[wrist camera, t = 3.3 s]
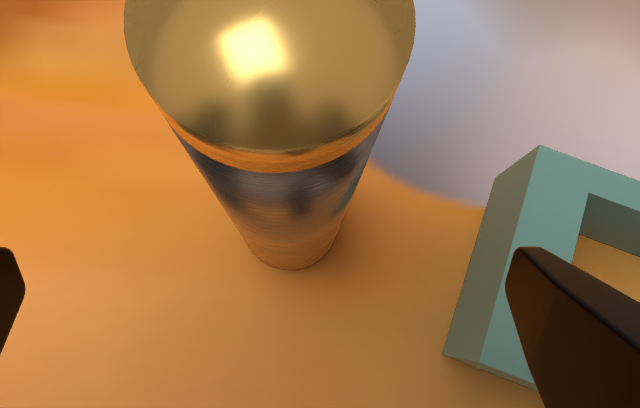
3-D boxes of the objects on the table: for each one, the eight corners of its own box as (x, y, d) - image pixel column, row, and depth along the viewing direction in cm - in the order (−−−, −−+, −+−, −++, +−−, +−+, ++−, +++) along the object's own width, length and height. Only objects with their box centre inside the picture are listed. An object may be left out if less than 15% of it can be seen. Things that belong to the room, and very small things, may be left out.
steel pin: (250, 277, 19) (136, 170, 6) (237, 185, 20) (113, -90, 7) (345, 261, 20) (445, 124, 6) (328, 171, 21) (382, -118, 7)
